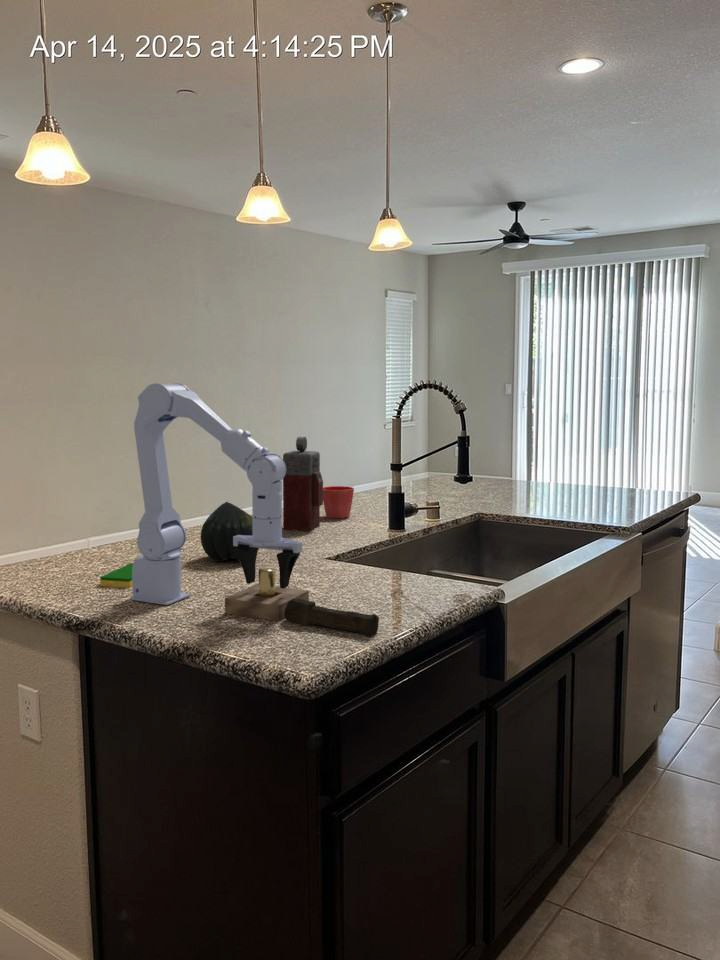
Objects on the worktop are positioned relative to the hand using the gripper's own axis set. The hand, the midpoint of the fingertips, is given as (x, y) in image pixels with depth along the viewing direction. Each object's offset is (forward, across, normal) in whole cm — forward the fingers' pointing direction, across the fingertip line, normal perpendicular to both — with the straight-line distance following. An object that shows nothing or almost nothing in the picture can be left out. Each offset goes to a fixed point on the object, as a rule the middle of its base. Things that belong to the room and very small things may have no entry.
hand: (267, 584), depth 156 cm
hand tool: (+5, +16, -6) cm, 18 cm away
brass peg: (+5, 0, 0) cm, 5 cm away
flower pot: (+5, -34, +103) cm, 109 cm away
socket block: (+5, 0, 0) cm, 5 cm away
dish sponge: (+6, -40, +7) cm, 41 cm away
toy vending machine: (+5, -34, +80) cm, 87 cm away
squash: (+5, -31, +34) cm, 46 cm away
